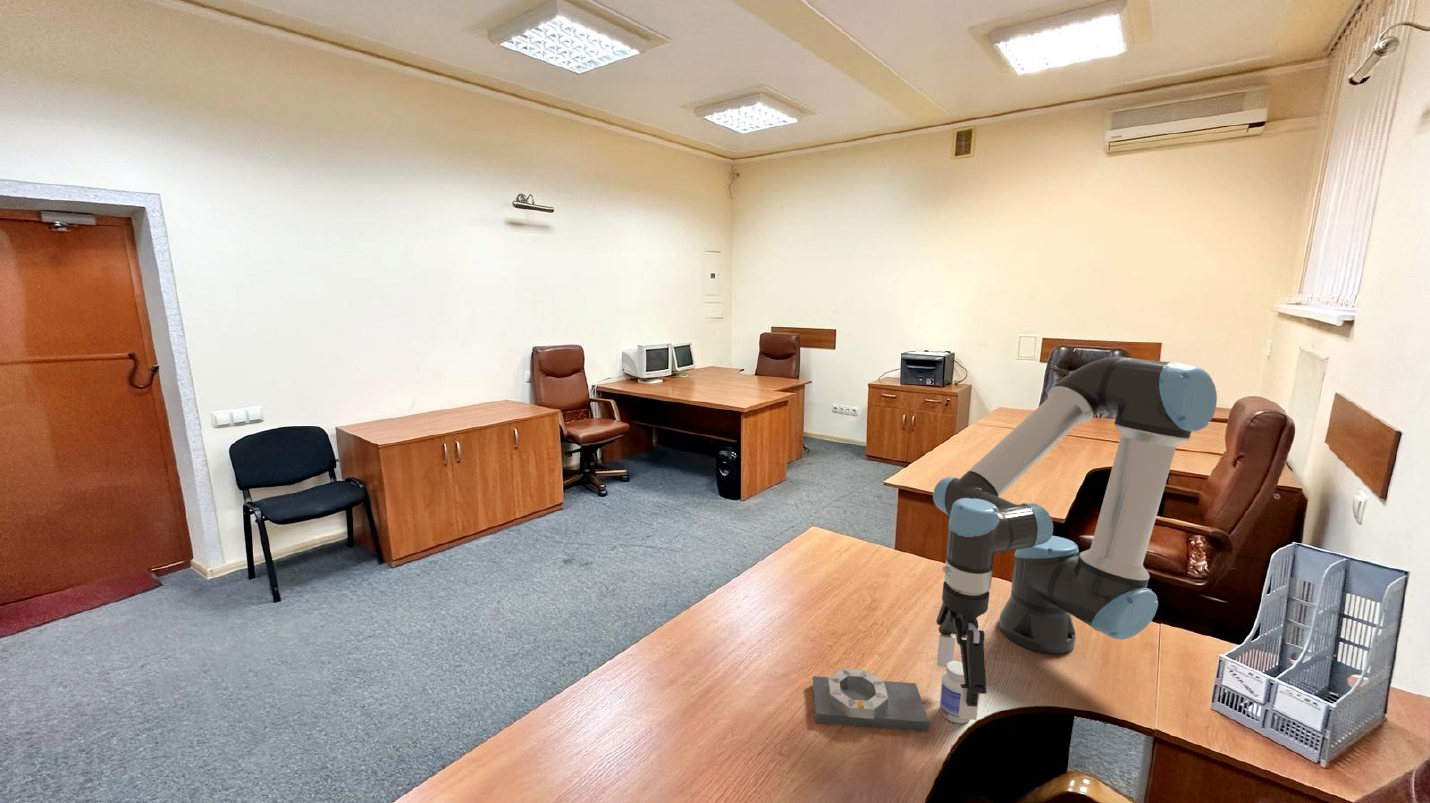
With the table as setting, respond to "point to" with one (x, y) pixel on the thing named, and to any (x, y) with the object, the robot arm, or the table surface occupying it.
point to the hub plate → (888, 719)
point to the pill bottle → (952, 691)
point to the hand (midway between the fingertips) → (955, 690)
